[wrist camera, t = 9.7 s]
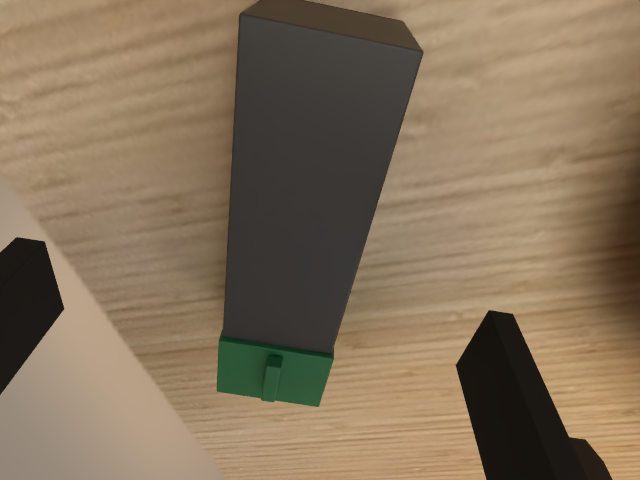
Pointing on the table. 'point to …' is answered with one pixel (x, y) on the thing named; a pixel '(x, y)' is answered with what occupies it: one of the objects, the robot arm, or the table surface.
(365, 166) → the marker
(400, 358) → the table surface
